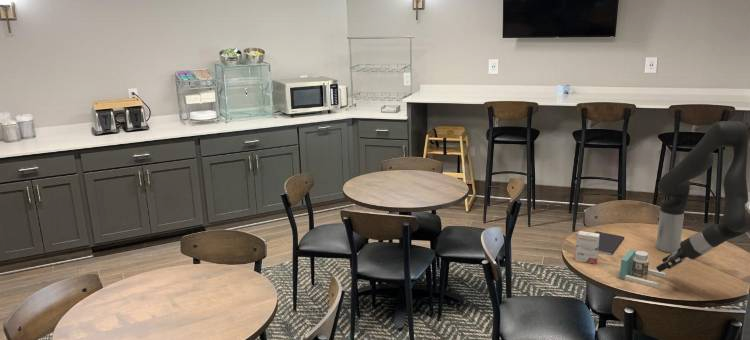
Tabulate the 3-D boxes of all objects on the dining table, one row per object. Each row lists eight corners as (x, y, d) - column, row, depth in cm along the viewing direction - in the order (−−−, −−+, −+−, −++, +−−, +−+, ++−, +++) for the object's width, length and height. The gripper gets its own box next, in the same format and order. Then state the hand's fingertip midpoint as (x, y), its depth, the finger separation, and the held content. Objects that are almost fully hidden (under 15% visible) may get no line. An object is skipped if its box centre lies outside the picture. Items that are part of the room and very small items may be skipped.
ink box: (597, 259, 250) (600, 233, 247) (596, 264, 246) (599, 237, 242) (576, 256, 254) (578, 230, 250) (574, 260, 249) (576, 234, 246)
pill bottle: (645, 281, 231) (648, 257, 228) (630, 277, 234) (632, 254, 231) (648, 275, 235) (650, 252, 233) (632, 272, 238) (635, 249, 235)
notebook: (612, 256, 254) (624, 239, 270) (612, 253, 253) (624, 236, 270) (581, 250, 261) (595, 234, 277) (582, 246, 260) (595, 231, 277)
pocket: (665, 276, 234) (668, 257, 232) (657, 288, 225) (660, 268, 223) (628, 267, 242) (630, 249, 240) (619, 278, 233) (621, 259, 231)
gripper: (695, 230, 224) (659, 251, 234) (686, 242, 213) (648, 264, 224) (708, 247, 222) (672, 267, 232) (700, 260, 212) (662, 280, 222)
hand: (660, 265), depth 228 cm, fingers open, 8 cm apart
